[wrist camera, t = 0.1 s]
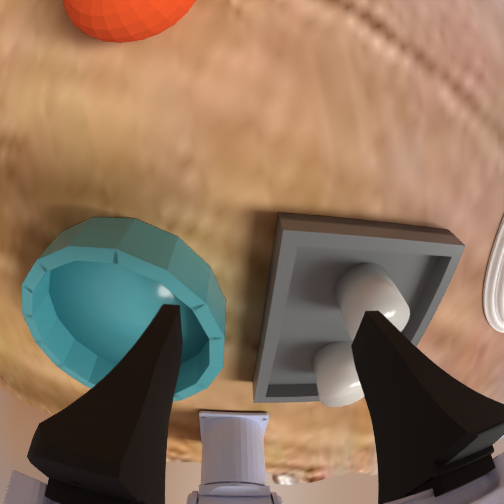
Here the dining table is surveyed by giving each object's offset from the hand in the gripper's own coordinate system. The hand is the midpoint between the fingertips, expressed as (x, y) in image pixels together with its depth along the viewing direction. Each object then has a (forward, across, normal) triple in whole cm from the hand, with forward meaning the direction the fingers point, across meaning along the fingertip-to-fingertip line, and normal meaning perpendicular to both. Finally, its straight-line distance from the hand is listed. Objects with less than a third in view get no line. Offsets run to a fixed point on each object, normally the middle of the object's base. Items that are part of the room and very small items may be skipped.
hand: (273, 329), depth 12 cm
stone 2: (+9, -8, +4) cm, 13 cm away
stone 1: (+9, -8, +12) cm, 17 cm away
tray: (+10, -8, +8) cm, 15 cm away
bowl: (+10, +10, +8) cm, 16 cm away
